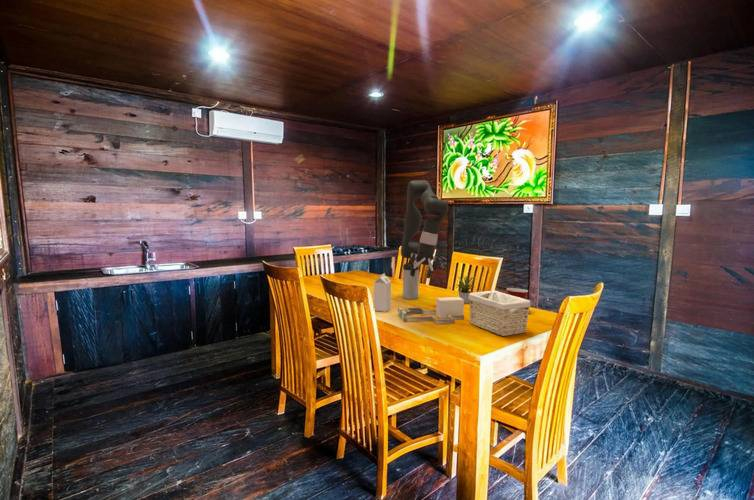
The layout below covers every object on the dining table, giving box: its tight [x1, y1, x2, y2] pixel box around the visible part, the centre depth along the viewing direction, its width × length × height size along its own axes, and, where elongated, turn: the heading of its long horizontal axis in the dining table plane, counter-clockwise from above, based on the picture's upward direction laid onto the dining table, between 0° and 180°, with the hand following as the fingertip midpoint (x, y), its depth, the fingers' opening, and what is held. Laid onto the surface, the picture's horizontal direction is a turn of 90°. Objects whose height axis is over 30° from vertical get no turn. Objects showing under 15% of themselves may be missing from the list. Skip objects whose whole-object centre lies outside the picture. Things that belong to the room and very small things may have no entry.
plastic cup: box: [506, 287, 529, 299], centre depth 203 cm, size 11×11×12 cm
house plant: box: [455, 275, 477, 304], centre depth 221 cm, size 14×14×16 cm
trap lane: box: [397, 306, 465, 325], centre depth 192 cm, size 23×30×4 cm
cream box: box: [435, 296, 465, 319], centre depth 194 cm, size 6×12×9 cm, turn 100°
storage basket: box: [468, 290, 532, 337], centre depth 175 cm, size 24×16×15 cm
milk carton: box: [373, 272, 392, 313], centre depth 204 cm, size 7×7×19 cm
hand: (420, 277), depth 177 cm, fingers open, 8 cm apart
